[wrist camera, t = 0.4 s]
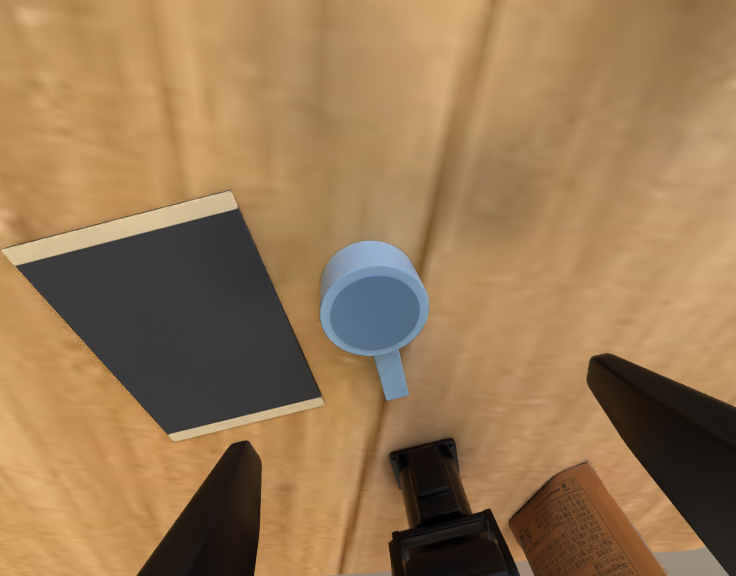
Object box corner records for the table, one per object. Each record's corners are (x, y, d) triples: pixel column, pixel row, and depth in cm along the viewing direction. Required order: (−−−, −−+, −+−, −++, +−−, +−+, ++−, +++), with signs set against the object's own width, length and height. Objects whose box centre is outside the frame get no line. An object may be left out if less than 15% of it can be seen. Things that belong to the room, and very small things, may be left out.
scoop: (307, 254, 20) (304, 282, 17) (407, 229, 20) (422, 253, 17) (355, 388, 27) (359, 426, 24) (431, 369, 27) (445, 405, 24)
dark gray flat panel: (324, 401, 27) (324, 405, 27) (175, 438, 27) (173, 442, 27) (230, 189, 18) (229, 191, 17) (5, 247, 18) (-1, 250, 18)
